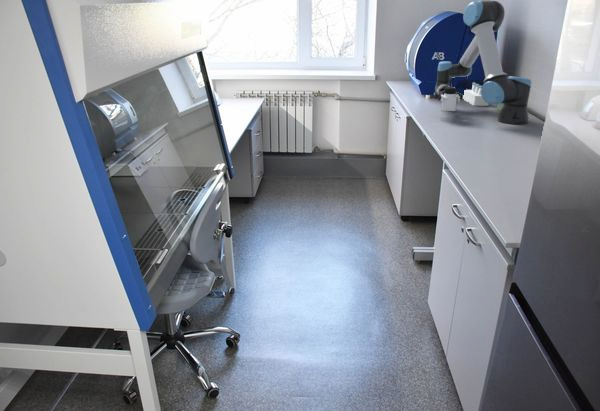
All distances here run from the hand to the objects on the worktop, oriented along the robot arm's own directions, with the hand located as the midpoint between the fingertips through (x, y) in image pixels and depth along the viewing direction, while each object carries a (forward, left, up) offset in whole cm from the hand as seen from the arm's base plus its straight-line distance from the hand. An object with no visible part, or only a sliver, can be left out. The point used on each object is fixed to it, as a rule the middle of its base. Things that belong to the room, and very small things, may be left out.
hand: (450, 99), depth 257 cm
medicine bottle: (+4, -3, -7) cm, 8 cm away
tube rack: (+26, -54, -12) cm, 61 cm away
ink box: (+1, -49, -12) cm, 51 cm away
